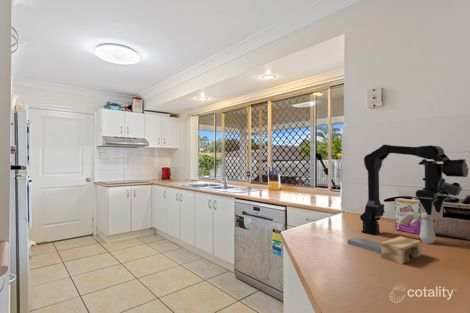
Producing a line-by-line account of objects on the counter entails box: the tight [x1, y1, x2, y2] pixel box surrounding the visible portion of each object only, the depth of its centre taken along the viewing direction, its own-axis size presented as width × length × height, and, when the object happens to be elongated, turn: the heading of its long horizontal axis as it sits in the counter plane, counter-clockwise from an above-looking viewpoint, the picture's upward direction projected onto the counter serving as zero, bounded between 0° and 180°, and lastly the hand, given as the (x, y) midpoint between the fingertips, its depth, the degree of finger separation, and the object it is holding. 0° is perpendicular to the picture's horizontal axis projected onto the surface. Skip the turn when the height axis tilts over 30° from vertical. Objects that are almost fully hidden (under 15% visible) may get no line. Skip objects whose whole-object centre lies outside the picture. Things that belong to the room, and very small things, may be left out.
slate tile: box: [347, 236, 382, 255], centre depth 103 cm, size 14×7×2 cm, turn 30°
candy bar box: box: [394, 197, 424, 236], centre depth 125 cm, size 11×5×16 cm, turn 34°
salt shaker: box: [418, 211, 437, 245], centre depth 109 cm, size 6×6×13 cm
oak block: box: [380, 235, 421, 265], centre depth 92 cm, size 7×15×6 cm, turn 122°
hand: (433, 213), depth 101 cm, fingers open, 9 cm apart
